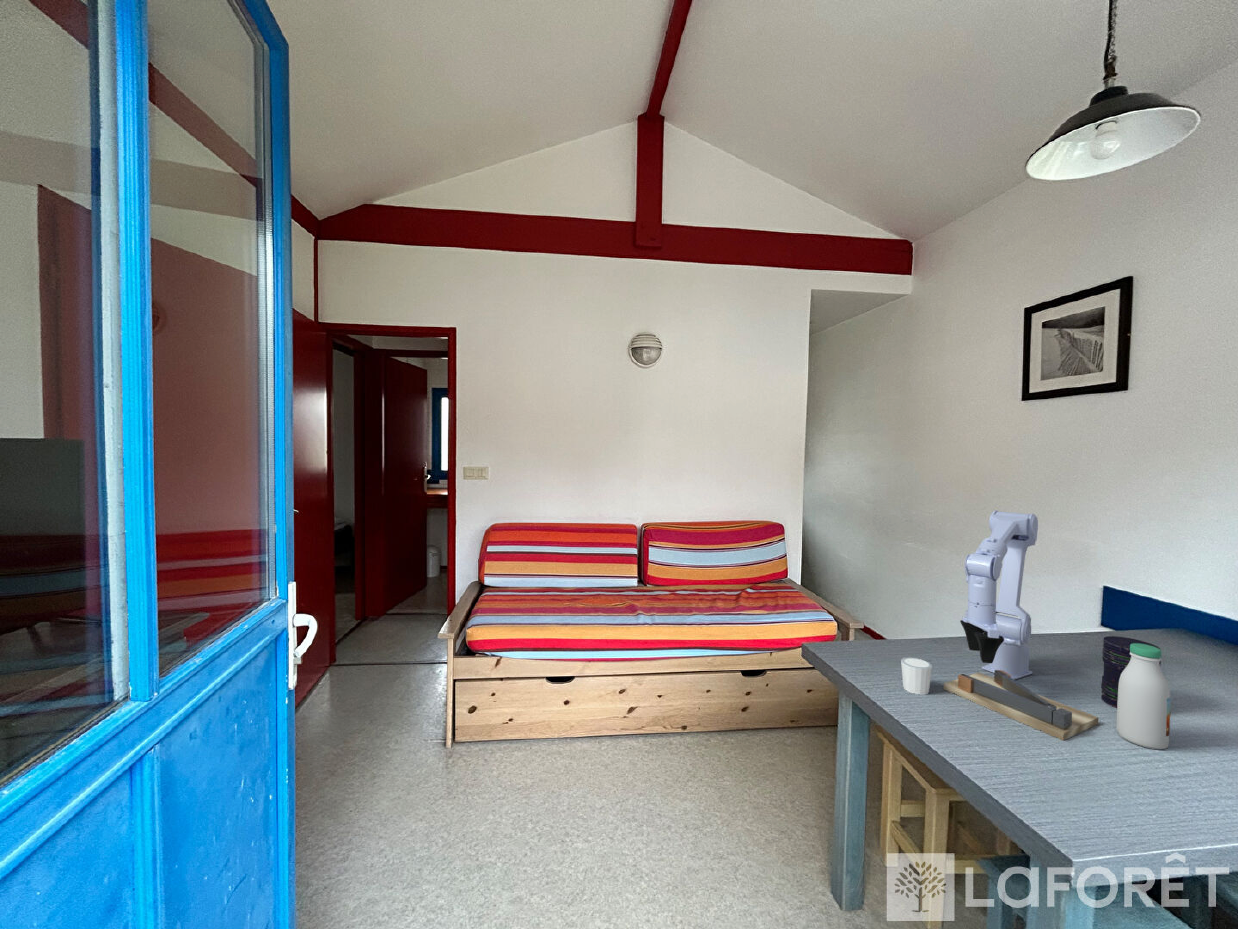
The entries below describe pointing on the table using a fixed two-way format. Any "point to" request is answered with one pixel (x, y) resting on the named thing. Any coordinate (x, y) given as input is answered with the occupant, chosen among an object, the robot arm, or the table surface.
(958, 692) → the board
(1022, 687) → the arm
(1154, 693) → the milk bottle
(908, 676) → the white cup
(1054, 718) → the tongs fixed arm
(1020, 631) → the robot arm
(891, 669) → the table surface
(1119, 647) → the storage jar
